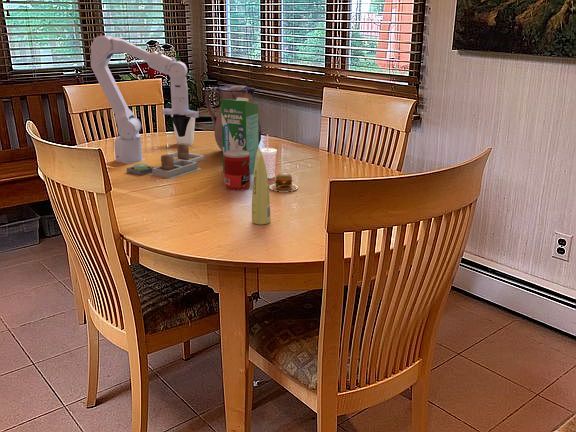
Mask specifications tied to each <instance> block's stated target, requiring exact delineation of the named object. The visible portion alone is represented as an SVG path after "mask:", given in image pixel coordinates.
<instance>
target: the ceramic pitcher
mask: <svg viewBox="0 0 576 432" xmlns="http://www.w3.org/2000/svg"><path fill="white" fill-rule="evenodd" d="M255 91H256V89H255V88H254V87H251V86H250V87H249V86H247V85H226V86H212V87H210V88H209V89H207V91H206V92H205V93H204V94H205V95H204V103H205V106H206V108H207V111H208V114H209V116H210V118H211V120H212V123H213V127H212V129H213V132H214V140H215V142H216V145H217V146H218V148H219V149H220V150H221V151H222V152H223V148H222V117H221V105H220V106H219V109H218V113H217V115H216V114H215V111H214V109H213V107H212V105H211V101H210V100H211V99H210V95H211V94H212V93H217V94H219V96H220V98H221V99H230V100H237V98H247V99H248V102H252V103H255V98H254V97H255ZM258 129H259V145H260V143H261V140H262V128H261V123H260V119H259V117H258Z"/></svg>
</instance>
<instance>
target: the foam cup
mask: <svg viewBox="0 0 576 432" xmlns="http://www.w3.org/2000/svg"><path fill="white" fill-rule="evenodd" d="M170 116H171V117H173V115H170ZM195 124H196V118H193V117H191V119H190V120H189V123H188V125H187V128H186V133H185V136H183V137H179V136H178V133H177V130H176V127H175V125H174V123H173V122H172V125H173V130H174V135H175V141H176V145H177V144H178V143H188V146H189V145H190V146H192V145H193V144H194V139H195V138H194V136H195Z"/></svg>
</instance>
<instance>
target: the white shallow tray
mask: <svg viewBox="0 0 576 432" xmlns="http://www.w3.org/2000/svg"><path fill="white" fill-rule="evenodd" d="M170 154H171V155H173V157H174V162H176V161H179V160H182V159H178V154H177V151H176V152H172V153H171V152H170ZM176 157H177V158H176ZM206 158H207V157H206V155H204V154H198V153H193V152H192V153H191V152H189V160H187V161H192V162H197V163H199V162H201V161H206V160H207V159H206Z"/></svg>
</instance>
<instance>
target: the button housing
mask: <svg viewBox="0 0 576 432" xmlns="http://www.w3.org/2000/svg"><path fill="white" fill-rule="evenodd" d="M147 166H148V168H147V169H144V170H141V171H140V170H136V169H134V165H133V166H131V167H127V168H126V173H127V174H131V175H136V176H144V175H147V174H148V175H149V174H150V173H152V168H155V167H156V166H151V165H147Z"/></svg>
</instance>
